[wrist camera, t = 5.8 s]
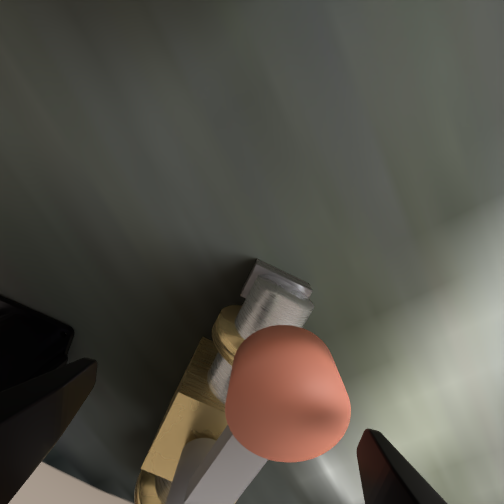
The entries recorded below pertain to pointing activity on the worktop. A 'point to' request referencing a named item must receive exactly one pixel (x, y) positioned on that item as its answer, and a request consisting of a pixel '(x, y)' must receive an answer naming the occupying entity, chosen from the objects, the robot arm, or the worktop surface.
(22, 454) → the robot arm
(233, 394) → the lever
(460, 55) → the worktop surface
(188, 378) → the valve body
